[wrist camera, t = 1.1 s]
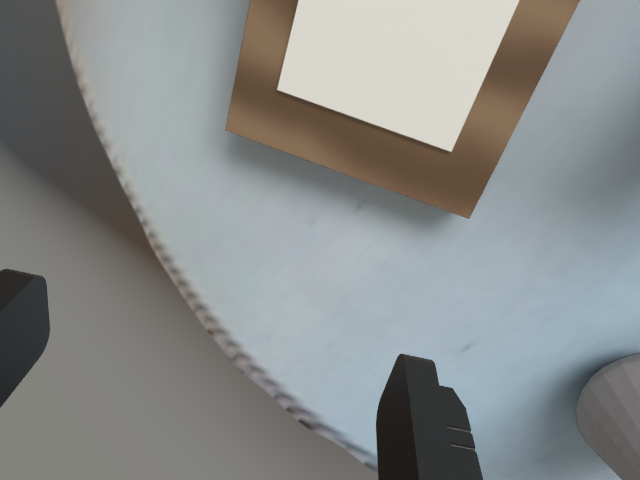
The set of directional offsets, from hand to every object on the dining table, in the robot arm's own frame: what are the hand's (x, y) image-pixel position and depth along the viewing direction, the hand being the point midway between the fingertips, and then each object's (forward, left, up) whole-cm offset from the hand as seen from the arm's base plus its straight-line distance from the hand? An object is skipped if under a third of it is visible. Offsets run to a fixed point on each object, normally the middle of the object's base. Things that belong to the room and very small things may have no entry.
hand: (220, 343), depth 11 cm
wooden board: (-5, 0, -27) cm, 27 cm away
